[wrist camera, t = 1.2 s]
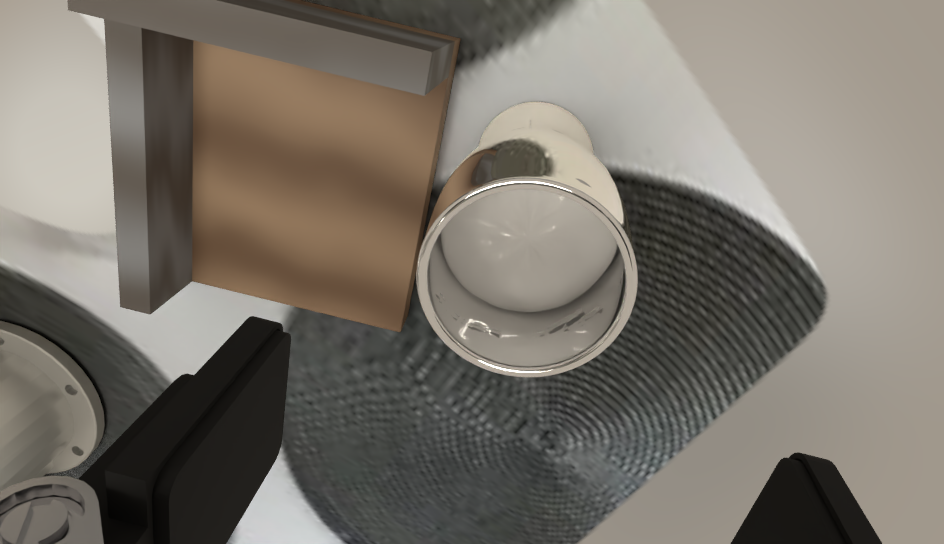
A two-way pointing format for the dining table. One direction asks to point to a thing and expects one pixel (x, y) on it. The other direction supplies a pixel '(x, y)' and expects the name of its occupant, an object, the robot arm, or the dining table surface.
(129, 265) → the wooden corner tray
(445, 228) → the beer glass
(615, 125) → the dining table surface
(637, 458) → the dining table surface
